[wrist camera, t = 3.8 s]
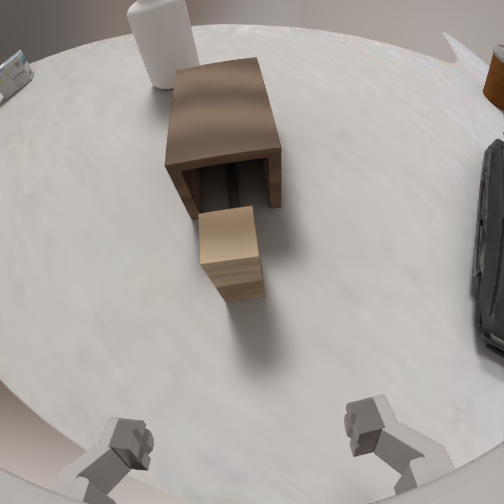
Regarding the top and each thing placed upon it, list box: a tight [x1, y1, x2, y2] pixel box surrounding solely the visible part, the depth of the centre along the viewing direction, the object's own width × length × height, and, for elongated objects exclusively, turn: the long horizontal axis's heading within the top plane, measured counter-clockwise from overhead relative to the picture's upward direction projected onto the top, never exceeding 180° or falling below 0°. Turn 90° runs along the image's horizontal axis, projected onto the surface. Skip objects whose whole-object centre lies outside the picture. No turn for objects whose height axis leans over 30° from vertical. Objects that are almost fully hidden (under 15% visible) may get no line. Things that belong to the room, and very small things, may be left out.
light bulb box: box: [0, 50, 34, 100], centre depth 50 cm, size 11×7×11 cm, turn 121°
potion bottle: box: [127, 0, 200, 89], centre depth 33 cm, size 8×8×18 cm
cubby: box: [165, 57, 281, 219], centre depth 28 cm, size 15×9×8 cm, turn 6°
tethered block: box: [198, 162, 265, 301], centre depth 26 cm, size 21×5×9 cm, turn 6°
